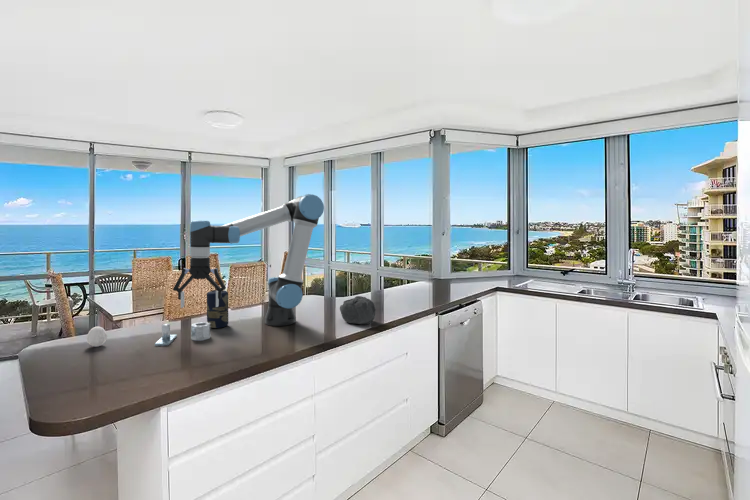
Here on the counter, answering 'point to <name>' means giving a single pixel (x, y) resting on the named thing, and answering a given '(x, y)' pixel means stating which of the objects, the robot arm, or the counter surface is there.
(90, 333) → the egg
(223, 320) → the canister
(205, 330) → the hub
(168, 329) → the shaft stand
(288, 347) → the counter surface
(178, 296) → the robot arm
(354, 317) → the rock
